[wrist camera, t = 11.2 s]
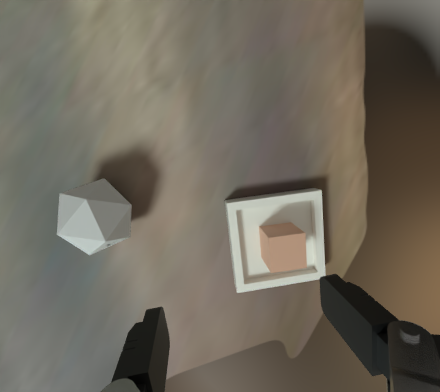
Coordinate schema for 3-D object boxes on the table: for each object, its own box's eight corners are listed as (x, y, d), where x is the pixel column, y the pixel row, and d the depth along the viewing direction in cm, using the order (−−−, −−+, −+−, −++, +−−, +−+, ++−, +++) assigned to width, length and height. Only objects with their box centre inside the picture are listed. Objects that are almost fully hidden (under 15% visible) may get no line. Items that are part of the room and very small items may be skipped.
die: (71, 230, 36) (82, 281, 29) (39, 181, 30) (44, 231, 24) (128, 207, 39) (150, 249, 33) (109, 159, 34) (131, 197, 27)
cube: (258, 226, 37) (268, 237, 32) (290, 222, 37) (305, 232, 32) (261, 257, 38) (271, 273, 33) (292, 253, 38) (306, 267, 33)
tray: (224, 200, 37) (226, 203, 34) (313, 187, 38) (321, 190, 35) (234, 284, 39) (237, 293, 37) (317, 270, 40) (325, 278, 38)
